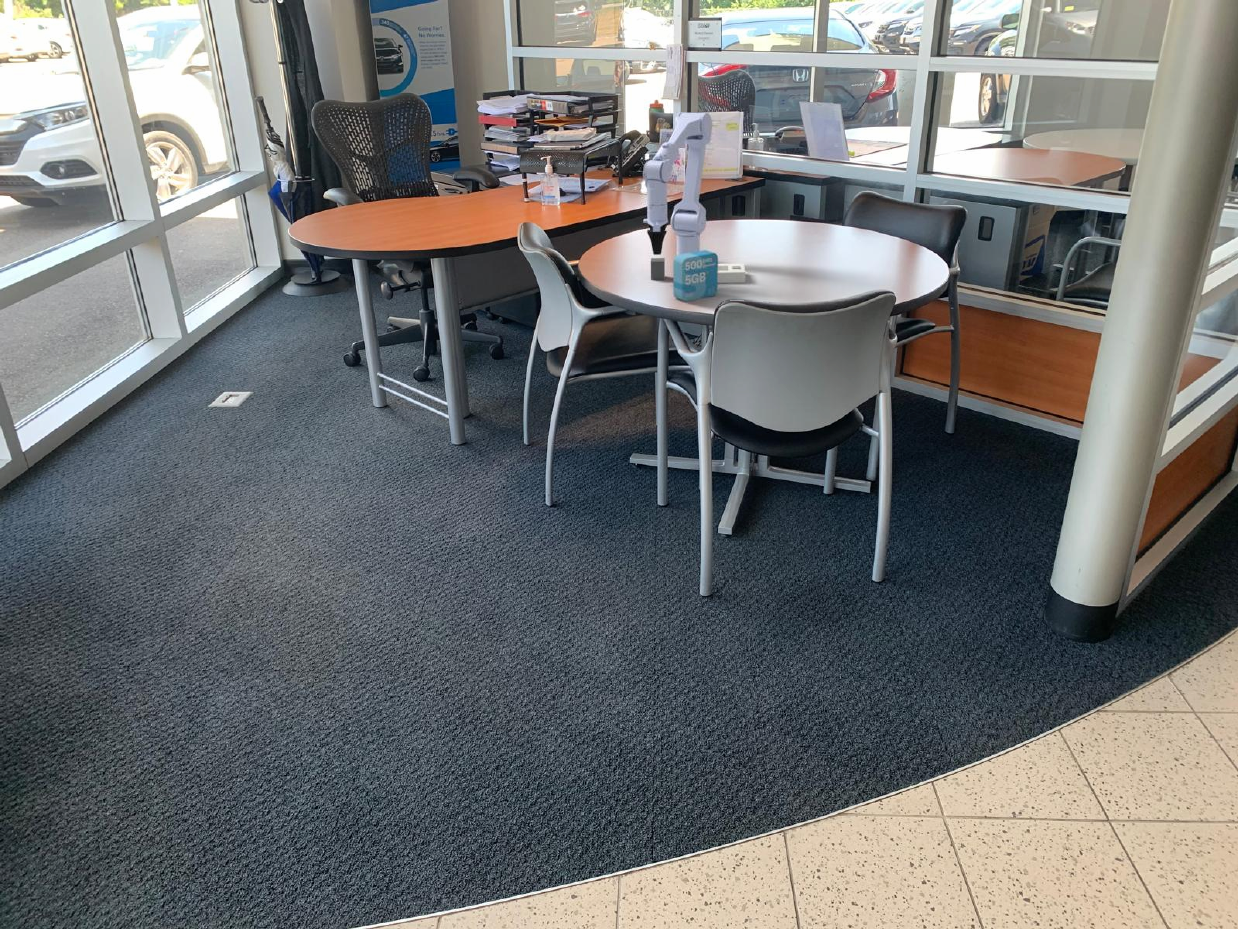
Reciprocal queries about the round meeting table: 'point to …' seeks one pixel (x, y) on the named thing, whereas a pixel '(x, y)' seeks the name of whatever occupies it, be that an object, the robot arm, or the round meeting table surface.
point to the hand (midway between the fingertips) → (657, 251)
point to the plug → (657, 268)
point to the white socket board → (731, 273)
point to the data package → (695, 275)
